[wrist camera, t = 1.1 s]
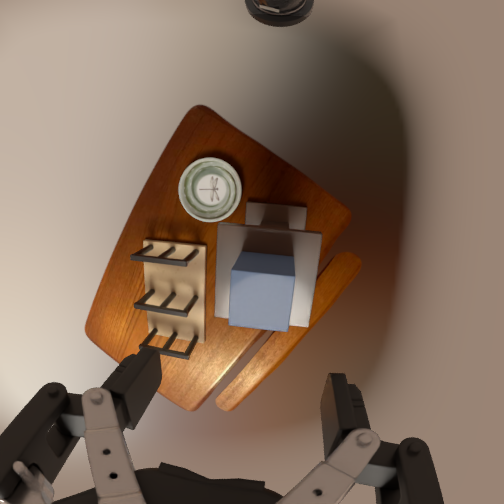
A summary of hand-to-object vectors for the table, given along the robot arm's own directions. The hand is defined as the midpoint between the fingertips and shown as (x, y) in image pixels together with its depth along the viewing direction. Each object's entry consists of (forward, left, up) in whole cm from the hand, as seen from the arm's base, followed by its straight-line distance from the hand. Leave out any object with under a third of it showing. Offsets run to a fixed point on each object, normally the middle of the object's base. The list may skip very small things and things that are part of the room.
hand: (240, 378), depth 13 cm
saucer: (-6, -10, -34) cm, 36 cm away
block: (0, 0, -14) cm, 14 cm away
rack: (+12, -16, -34) cm, 39 cm away
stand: (0, 0, -34) cm, 34 cm away
